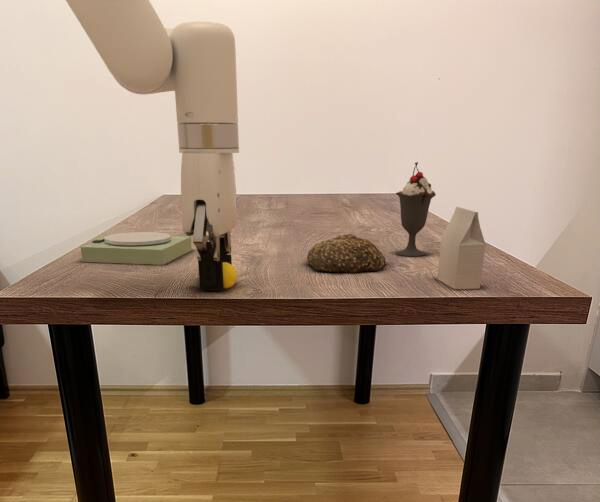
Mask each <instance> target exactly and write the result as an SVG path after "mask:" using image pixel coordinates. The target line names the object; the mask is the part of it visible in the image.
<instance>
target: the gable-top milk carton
mask: <svg viewBox="0 0 600 502" xmlns="http://www.w3.org/2000/svg"><path fill="white" fill-rule="evenodd" d="M480 224H481V223H480V220H479V211H475V210H471V209H467V208H464V207H460V206H456V207H455V209H454V212H453V214H452V216H451V218H450V221H448V224H447V226H446V228H445V230H444V231H443V233H442V235H441V237H440V245H439V246H440V247H439V256H438V264H437V265H438V266H437V275H436V276H437V277H436V280H438V281H439V282H441V283H443V284H445V285H446V286H448V287H450V288H451V289H453V290H473V289H474V290H475V289H478V290H479V289H481V284H482V283H481V282H482V276H483V266H484V259H485V252H486V251H485V250H486V242H485V238H484V235H483V232H482V228H481V225H480Z"/></svg>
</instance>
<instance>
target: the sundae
mask: <svg viewBox="0 0 600 502" xmlns="http://www.w3.org/2000/svg"><path fill="white" fill-rule="evenodd" d="M418 164H419V161H416V162H414V165H415V166H414V168H413V171H412V176H410V178H409V180H408V182H406V184H405V186H404V187H403V188H402V190H399V191H397V192H396V193H395V194H396V195H397V197H398V198H399V206H400V207H399V208H400V222H401V226H402V229H404V230H405V232H407V234H408V242H407V245H406V247H405V248H404V249H402V250H398V251H397V252H396V254H397V255H399V256H403V257H423V256H425V255H426V253H425V252H424V251H421V250H419V249H418V248H417V245H416V236H417V234H418V233H419V232H421V231H422V230H423V229H424V227H425V226H426V222H427V219H428V215H429V209H430V204H431V201H432V199H433V198H434V197H436V194H437V193H436V192H435V191H434V190H433V189H432V184H431V183H429V182H428V179H427V178H426V177H425V176H424V173H423V172H422V171H420V170H419V169H418ZM416 170H417V172H416V174H415V171H416Z"/></svg>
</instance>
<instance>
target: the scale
mask: <svg viewBox="0 0 600 502" xmlns="http://www.w3.org/2000/svg"><path fill="white" fill-rule="evenodd" d="M192 250H193V248H192V237H191V236H186V235H184V236H179V235H171V234H169V233H165V232H157V231H156V232H155V231H132V232H130V231H129V232H118V233H113V234H109V235H106V236H103V237H100V238H97V239H94V240H91V243H87V244H85V245H84V244H83V245H81V246H80V253H81V260H82V262H83V263H103V264H104V263H105V264H107V263H108V264H127V265H130V264H132V265H155V266H157V265H158V266H165V265H167V264H168V263H170V262H172V261H174V260H176V259H178V258H180V257H182V256H184V255H185V254H187V253H190V252H191V251H192Z"/></svg>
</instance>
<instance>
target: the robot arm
mask: <svg viewBox="0 0 600 502" xmlns="http://www.w3.org/2000/svg"><path fill="white" fill-rule="evenodd" d="M65 1H66V3H67V5H68V7H69V8H70V9H71V11H72V13H73V14H74V16H75V18H76V20H77V21H78V22H79V24H80V25H81V27H82V29H83V31H84V32H85V34H86V35H87V37H88V39H89V40H90V42H91V43H92V45H93V47H94V48H95V50H96V52H97V53H98V55H99V57H100V58H101V60H102V61H103V63H104V65H105V66H106V68H107V70H108V72H109V73H110V74H111V76H112V77H113V79H114V80H115V81H116V82H117V84H119V85H120V86H121V87H122V88H123V89H124V90H126V91H128V92H130V93H133V94H134V95H135V94H136V95H143V96H145V95H146V96H147V95H153V94H160V93H168V92H174V98H175V99H174V100H175V112H176V122H177V124H176V126H177V139H178V152H179V154H181V165H180V166H181V167H180V203H181V207H180V208H181V227H182V233H183V234H184V236H185V237H191V236H193V237H192V243H193V245H194V246H195V249H196V259H197V265H198V277H199V283H200V288H199V289H200V290H201V291H205V292H206V291H207V292H223V290H225V289H224V282H223V262H227V263H229V264H231V265H232V266H233V262H232V261H233V260H232V241H231V236H232V235H231V232H232V230H233V229H235V228H236V226H237V222H238V221H237V220H238V202H237V187H236V186H237V185H236V174H235V172H236V171H235V162H234V154H237V153H238V154H239V153H240V139H239V138H240V137H239V136H240V135H239V134H240V133H239V115H238V114H239V113H238V112H239V110H238V108H239V107H238V85H237V84H238V83H237V79H238V77H237V56H236V55H237V54H236V53H237V52H236V51H237V50H236V39H235V34H234V33H233V31H232V29H231V28H230V27H229V26H227V25H225V24H223V23H219V22H214V21H213V22H212V21H187V22H182V23H179V24H177V25H176V26H175V27H174V28H169V27H168V28H167V27H165V26H164V23H163V22H162V20H161V19H160V16H159V15H158V13H157V12H156V10H155V8H154V6H153V4H152V3H151V1H150V0H65ZM207 233H208V235H207Z"/></svg>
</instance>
